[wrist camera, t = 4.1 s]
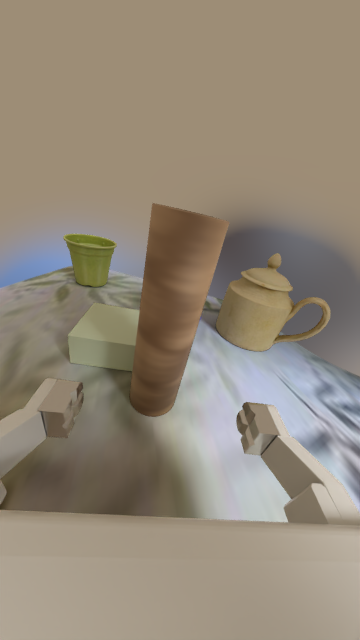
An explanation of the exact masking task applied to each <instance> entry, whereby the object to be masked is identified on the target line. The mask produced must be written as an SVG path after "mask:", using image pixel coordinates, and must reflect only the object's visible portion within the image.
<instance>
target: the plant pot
mask: <svg viewBox="0 0 360 640" xmlns="http://www.w3.org/2000/svg"><path fill="white" fill-rule="evenodd" d="M63 238H64V240H65V241H66V243H67V246H68V248H69V250H70V255H71V259H72V264H73V269H74V274H75V279H76V282H77V283H79V284H81V285H84V286H86V285H90V286H92V287H98V286H103V285H105V284H106V282H107V278H108V273H109V267H110V262H111V257H112V254H113V252H114V248H115V247H116V245H117V244H116V243H115V242H114V241H111V240H109V239H106V238H102V237H98V236H93V235H84V234H68V235H65V236H64V237H63Z"/></svg>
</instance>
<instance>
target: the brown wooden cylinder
mask: <svg viewBox="0 0 360 640" xmlns="http://www.w3.org/2000/svg"><path fill="white" fill-rule="evenodd" d="M228 225H229V222H228V221H225V220H222V219H217V218H214V217H211V216H207V215H203V214H199V213H195V212H191V211H187V210H182V209H178V208H174V207H169V206H165V205H159V204H154V203H153V204H152V211H151V220H150V228H149V237H148V245H147V253H146V262H145V270H144V278H143V286H142V295H141V303H140V311H139V320H138V328H137V336H136V345H135V353H134V361H133V370H132V378H131V386H130V395H129V398H130V402H131V404H132V406H133V407H134V409H135V410H136V411H138V412H139V413H141V414H143V415H146V416H152V417H154V416H161V415H163V414H165V413H167V412H168V411H169V410H170V409H171V408H172V407H173V405H174V403H175V399H176V396H177V393H178V389H179V386H180V383H181V380H182V376H183V373H184V370H185V366H186V363H187V360H188V357H189V353H190V350H191V347H192V343H193V340H194V337H195V334H196V330H197V327H198V324H199V320H200V317H201V314H202V310H203V307H204V304H205V301H206V297H207V294H208V291H209V287H210V284H211V281H212V278H213V274H214V271H215V267H216V264H217V261H218V258H219V255H220V251H221V248H222V245H223V241H224V238H225V235H226V232H227V228H228Z"/></svg>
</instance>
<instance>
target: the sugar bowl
mask: <svg viewBox="0 0 360 640" xmlns="http://www.w3.org/2000/svg"><path fill="white" fill-rule="evenodd" d="M280 265H281V257H280V255H279V254H275V255H273V256H272V257H271V258H270V259H269V260H268V268H252V269H249V270H248V271H243V272H242V273H241V274H242V275H243V277H242V278H241V279H240V280H238V281H232V282H231V283H230V284H229V286H228V289H227V292H226V295H225V297H224V300H223V303H222V306H221V309H220V312H219V315H218V318H217V321H216V328H217V331H218V332H219V333H220V335H221V336H222V337H223V338H225V339H226V340H227V341H229V342H230V343H232V344H234V345H236V346H238V347H240V348H243V349H247V350H251V351H266V350H268V349H270V348H271V346H272V345H273V344H276V343H279V342H293V341H300V340H304V339H307V338H310V337H312V336H314V335H316V334H317V333H319V332H320V331H321V330H322V329H323V328H324V327H325V326H326V325H327V323H328V321H329V319H330V308H329V306H328V304H327V303H326V302H325V301H324V300H322V299H320V298H316V297H310V298H306V299H304V300H301V301H300V302H298V303H297V304H296V305H295V306H294V303H293V301H292V300H291V299H290V298H289V296H288V291H292V290H293V288H292V286H291V285H290V284H289V282H288V280H287V279H286V278H285V277H284V276H282V275H281V274H279V273H278V272H276V269H277V268H278V267H279V266H280ZM308 303H315V304H318V305H319V306H320V307H322V310H323V316H322V318H321V320H320V322H319V323H318V324H317V325H316V326H315V327H314V328H313V329H311V330H309V331H308V332H305V333H302V334H297V335H279V333H280V331H281V329H282V328H283V326H284V325H285V323H286V322H287V321H288V320H289V319H290V318H292V317H293V316H294V315H295V314H296V313H297V311H298V310H299V309H300V308H301V307H303V306H304V305H306V304H308Z"/></svg>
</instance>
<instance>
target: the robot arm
mask: <svg viewBox="0 0 360 640" xmlns="http://www.w3.org/2000/svg"><path fill="white" fill-rule="evenodd" d="M82 388H83V383H81V382H75V381H68V380H61V379H54V378H47V379H45V380H44V381H43V382H42V384H41V385H40V386H39V388H38V389H37V391H36V392H35V393H34V395H33V396H32V397H31V399H30V400H29V401H28V403H27V404H26V405H25V407H24V408H23V410H22V409H18V410H17V411H15V412H13V413H12V414H10V415H8V416H7V417H5V418H3V419H2V420H0V479H1V478H2V477H3V476H4V475H5V474H6V473H8V472H9V471H10V470H11V469H12V468H13V467H14V466H16V465H17V464H18V463H19V462H20V461H21V460H22V459H23V458H25V457H26V456H27V455H28V454H29V453H30V452H31V451H33V450H34V449H35V448H36V447H37V446H38V445H39V444H41V443H42V442H43V441H44V440H45V439H46V438H47V437H59V438H68V436H69V434H70V431H71V429H72V427H73V425H74V417H75V416H77V415H78V414H79V412H80V409H81V407H82V403H83V397H84V396H83V393H82V392H81V390H82ZM242 407H243V410H241V411H239V413H238V415H237V420H236V422H237V428H238V431H239V432H240V433H241V434H242V437H241V443H242V446H243V450H244V453H245V454H252V455H260V456H261V458H262V459H263V461H264V462H265V463H266V465H267V466H268V467H269V469H270V470H271V472H272V473H273V474H274V476H275V477H276V478H277V480H278V481H279V483H280V484H281V485H282V487H283V488H284V489H285V491H286V492H287V494H288V495H289V496H290V498H291V499H292V500H290V501H289V502H288V503H287V504H285V506H284V511H285V514H286V516H287V519H288V522H289V523H288V522H265V521H243V520H220V519H198V518H175V517H153V516H130V515H108V514H85V513H63V512H40V511H18V510H0V640H360V513H359V511H358V510H357V508H356V506H355V505H354V503H353V501H352V500H351V498H350V496H349V494H348V493H347V491H346V489H345V488H344V486H343V484H342V483H340V482H339V481H338V480H337V479H336V478H335V477H334V476H333V475H332V474H331V473H330V472H329V471H328V470H327V469H326V468H325V467H324V466H323V465H322V464H321V463H320V462H319V461H317V460H316V459H315V458H314V457H313V456H312V455H311V454H310V453H309V452H308V451H307V450H306V449H305V448H304V447H303V446H302V445H301V444H300V443H299V442H298V441H297V440H295V439H294V438H293V437H290V435H289V433H288V431H287V429H286V427H285V425H284V423H283V421H282V419H281V417H280V415H279V413H278V411H277V409H276V407H275V406H274V405H266V404H259V403H250V402H246V403H244V404H243V406H242ZM6 494H7V492H6V488H5V487H4V485H3V483H2V482H1V480H0V504H1V503H2V501H3V499H4V497H5V496H6Z"/></svg>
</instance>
